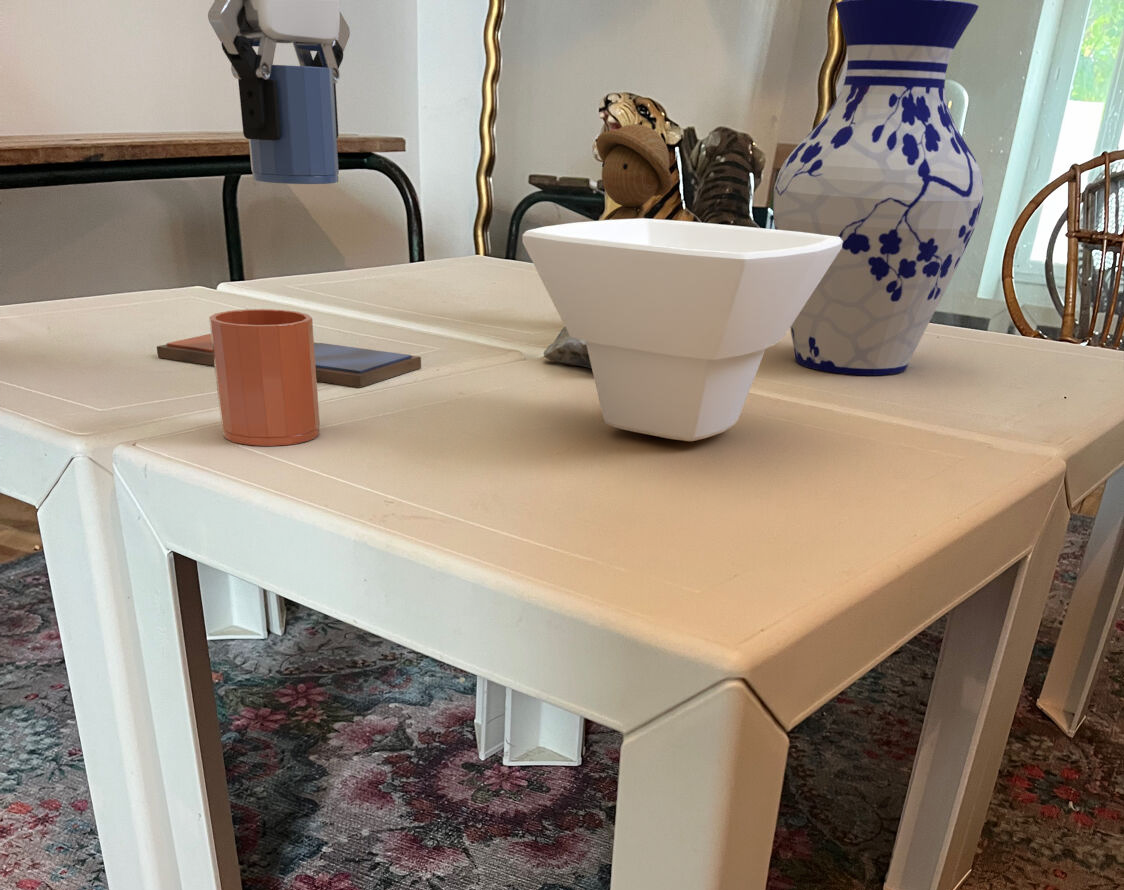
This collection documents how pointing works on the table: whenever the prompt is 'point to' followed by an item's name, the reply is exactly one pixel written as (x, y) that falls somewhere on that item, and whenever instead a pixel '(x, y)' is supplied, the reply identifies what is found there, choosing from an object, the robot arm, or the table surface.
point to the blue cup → (300, 130)
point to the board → (329, 361)
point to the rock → (568, 350)
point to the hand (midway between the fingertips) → (292, 136)
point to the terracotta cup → (265, 376)
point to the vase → (883, 189)
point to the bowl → (677, 311)
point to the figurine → (633, 168)
